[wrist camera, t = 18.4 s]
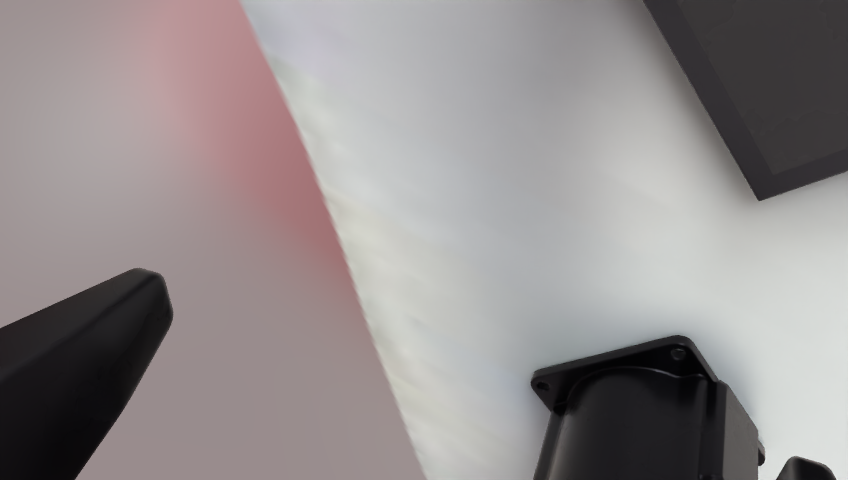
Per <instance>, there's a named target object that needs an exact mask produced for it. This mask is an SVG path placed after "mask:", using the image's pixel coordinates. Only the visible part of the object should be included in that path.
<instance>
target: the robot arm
mask: <svg viewBox="0 0 848 480" xmlns="http://www.w3.org/2000/svg"><path fill="white" fill-rule="evenodd" d="M172 320H173V308H172V304H171V301H170V298H169V294H168V290H167V286H166V283H165V280H164V278H163V277H162V275H161V274H159V273H156V272H153V271H149V270H146V269H142V268H135V269H132V270H129V271H127V272H124V273H122V274H120V275H118V276H116V277H113V278H111V279H109V280H107V281H104V282H102V283H100V284H98V285H96V286H93V287H91V288H89V289H87V290H85V291H82V292H80V293H78V294H76V295H73V296H71V297H69V298H67V299H64V300H62V301H60V302H58V303H55V304H53V305H51V306H49V307H47V308H45V309H42V310H40V311H38V312H35V313H33V314H31V315H29V316H27V317H24V318H22V319H20V320H18V321H15V322H13V323H11V324H9V325H7V326H4V327H2V328H0V480H75V479H76V477H77V476H78V474H79V473H80V472H81V470H82V469H83V467H84V466H85V464H86V463H87V462H88V460H89V459H90V457H91V456H92V454H93V453H94V451H95V450H96V448H97V447H98V446H99V444H100V443H101V442H102V440H103V439H104V437H105V436H106V434H107V433H108V431H109V430H110V429H111V427H112V426H113V424H114V423H115V422H116V420H117V418H118V417H119V416H120V414H121V412H122V411H123V409H124V408H125V406H126V405H127V403H128V401H129V400H130V398H131V396H132V394H133V393H134V391H135V389H136V387H137V385H138V384H139V382H140V380H141V378H142V376H143V375H144V373H145V371H146V369H147V367H148V366H149V364H150V362H151V360H152V359H153V357H154V355H155V353H156V351H157V349H158V348H159V346H160V344H161V342H162V340H163V339H164V337H165V335H166V333H167V331H168V330H169V328H170V326H171V323H172ZM674 349H681V350H684V351H677V350H674ZM544 382H545V383H544ZM531 387H532V389H533V390H534V391H535V393H536V394H537V395H538V396H539V398H540V399H541V400H542V401H543V403H544V404H545V405H546V406H547V408H548V409H549V410H550V411H551V416H550V420H549V423H548V427H547V431H546V434H545V438H544V441H543V445H542V449H541V452H540V456H539V460H538V463H537V467H536V470H535V474H534V478H533V480H758V466H761V465H762V464H763V463H764V461H765V449H764V447H763V445H762V444H761V443H760V441H759V440H758V430H757V428H756V426H755V425H754V423H753V422H752V420H751V419H750V417H749V416H748V414H747V413H746V411H745V410H744V408H743V407H742V405H741V404H740V402H739V401H738V399H737V398H736V396H735V395H734V393H733V392H732V390H731V389H730V387H729V386H728V385H727V384H726V383H724V382H722V381H721V380H718V378H717V377H716V376H715V374H714V373H713V371H712V370H711V368H710V367H709V365H708V364H707V362H706V361H705V359H704V358H703V356H702V355H701V353H700V352H699V350H698V349H697V347H696V346H695V344H694V343H693V342H692V341H691V340H690V339H689V338H687V337H685V336H680V335H675V336H669V337H666V338H662V339H658V340H654V341H650V342H646V343H642V344H638V345H634V346H630V347H626V348H622V349H619V350H615V351H611V352H607V353H603V354H599V355H595V356H591V357H587V358H583V359H579V360H575V361H571V362H568V363H564V364H560V365H556V366H552V367H548V368H544V369H540V370H537V371H535V372H534V374H533V376H532V379H531ZM776 480H836V478H835V476H834V474H833V473H832V471H831V470H830V469H829V468H828V467H827V466H826V465H824V464H822V463H819V462H815V461H812V460H808V459H805V458H801V457H798V456H794V457H791V458H790V459H789V460H788V461H787V462H786V464H785V465H784V467H783V469H782V471H781V472H780V474H779V476H778V477H777V479H776Z"/></svg>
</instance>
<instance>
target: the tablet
mask: <svg viewBox="0 0 848 480" xmlns="http://www.w3.org/2000/svg"><path fill="white" fill-rule="evenodd" d="M643 2H644V4H645V6H646V7H647V9H648V11H649V13H650V14H651V16H652V18H653V19H654V21H655V23H656V25H657V26H658V28H659V30H660V32H661V33H662V35H663V37H664V39H665V40H666V42H667V44H668V45H669V47H670V49H671V51H672V52H673V54H674V56H675V58H676V59H677V61H678V63H679V65H680V66H681V68H682V70H683V71H684V73H685V75H686V77H687V78H688V80H689V82H690V84H691V85H692V87H693V89H694V91H695V92H696V94H697V96H698V97H699V99H700V101H701V103H702V104H703V106H704V108H705V110H706V111H707V113H708V115H709V117H710V118H711V120H712V122H713V123H714V125H715V127H716V129H717V130H718V132H719V134H720V136H721V137H722V139H723V141H724V143H725V144H726V146H727V148H728V149H729V151H730V153H731V155H732V156H733V158H734V160H735V162H736V163H737V165H738V167H739V169H740V170H741V172H742V174H743V175H744V177H745V179H746V181H747V182H748V184H749V186H750V188H751V189H752V191H753V193H754V195H755V196H756V198H757V200H758V201H762V200H765V199H768V198H770V197H773V196H776V195H779V194H782V193H785V192H788V191H791V190H794V189H797V188H799V187H802V186H805V185H808V184H811V183H814V182H817V181H820V180H823V179H825V178H828V177H831V176H834V175H837V174H840V173H843V172H846V171H848V0H643Z"/></svg>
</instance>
